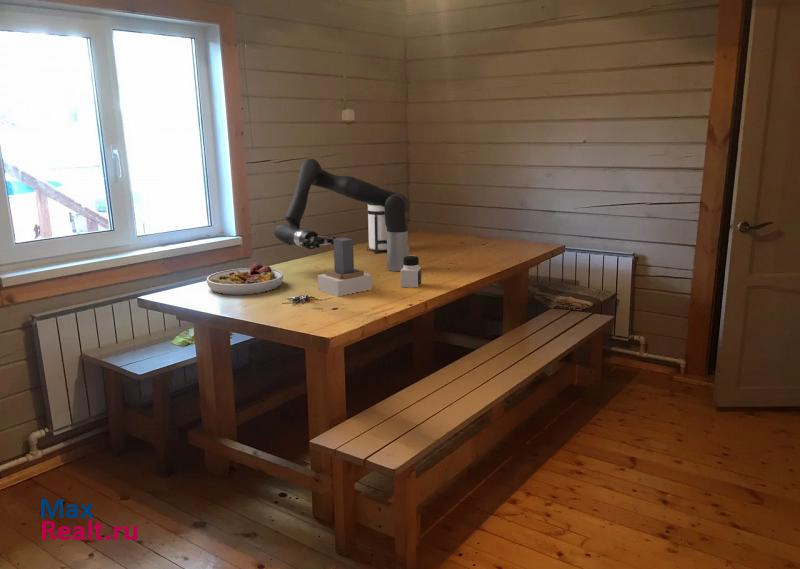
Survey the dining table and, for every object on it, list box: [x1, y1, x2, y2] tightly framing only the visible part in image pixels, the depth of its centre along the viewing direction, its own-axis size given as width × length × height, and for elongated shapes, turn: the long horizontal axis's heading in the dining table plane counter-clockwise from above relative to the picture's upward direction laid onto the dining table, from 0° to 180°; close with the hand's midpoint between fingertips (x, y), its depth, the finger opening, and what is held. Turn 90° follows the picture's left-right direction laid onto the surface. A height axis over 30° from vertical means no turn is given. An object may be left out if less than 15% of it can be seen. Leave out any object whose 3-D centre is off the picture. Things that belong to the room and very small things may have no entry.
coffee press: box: [366, 203, 387, 254], centre depth 337 cm, size 17×16×30 cm
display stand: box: [317, 267, 373, 298], centre depth 263 cm, size 16×14×8 cm
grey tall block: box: [333, 237, 355, 275], centre depth 261 cm, size 5×6×14 cm
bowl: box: [206, 262, 284, 296], centre depth 270 cm, size 30×30×8 cm
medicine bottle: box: [400, 254, 422, 288], centre depth 268 cm, size 7×7×12 cm
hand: (327, 243), depth 269 cm, fingers open, 8 cm apart
